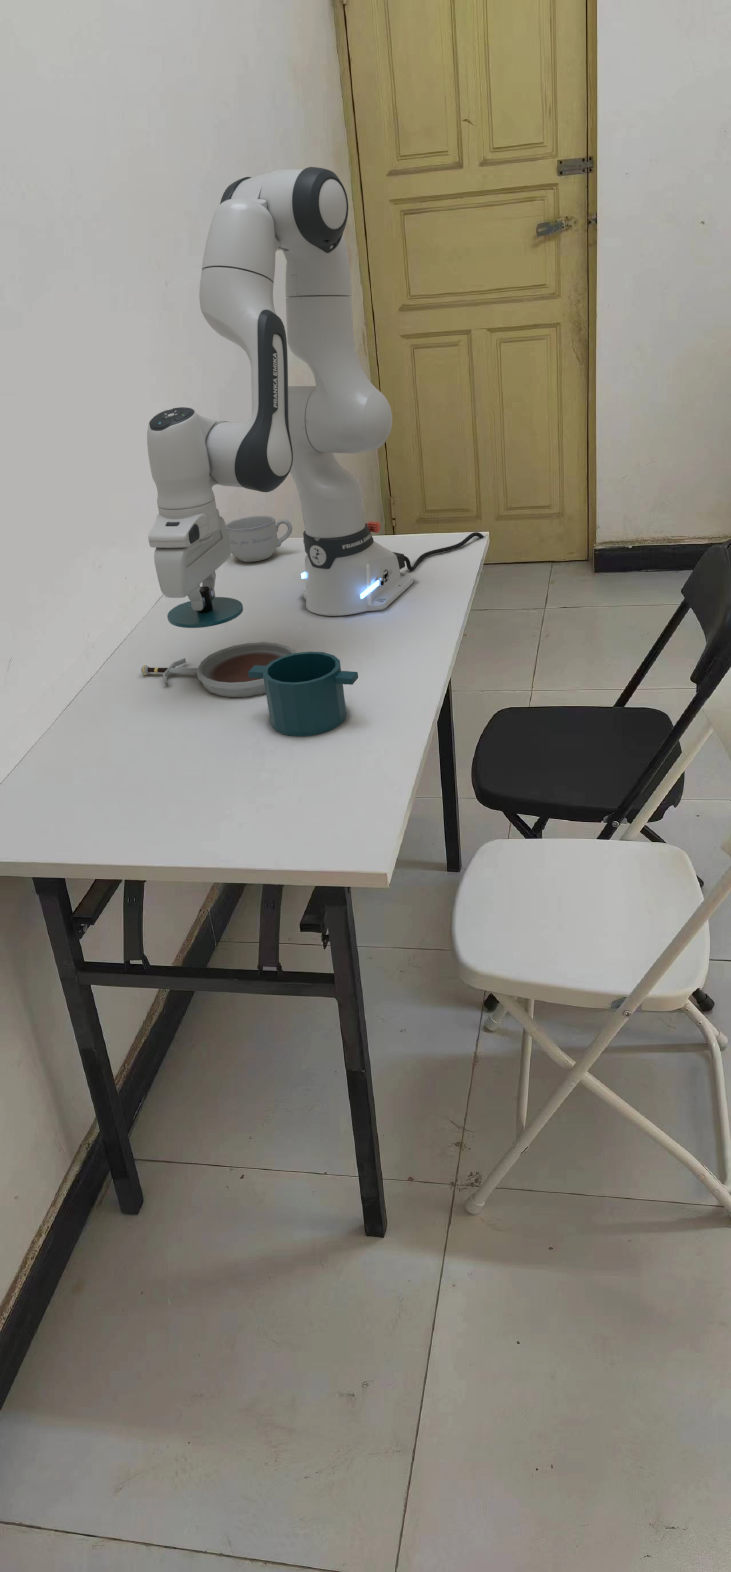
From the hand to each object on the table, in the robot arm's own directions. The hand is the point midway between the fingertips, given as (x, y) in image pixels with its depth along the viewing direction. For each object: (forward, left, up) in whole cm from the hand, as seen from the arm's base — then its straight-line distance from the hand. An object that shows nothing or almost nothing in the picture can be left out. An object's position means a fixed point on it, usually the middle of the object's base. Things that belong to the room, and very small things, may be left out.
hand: (204, 604), depth 179 cm
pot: (+6, +24, -13) cm, 28 cm away
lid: (0, 0, -2) cm, 2 cm away
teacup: (-50, -33, -13) cm, 62 cm away
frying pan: (0, 0, -13) cm, 13 cm away
